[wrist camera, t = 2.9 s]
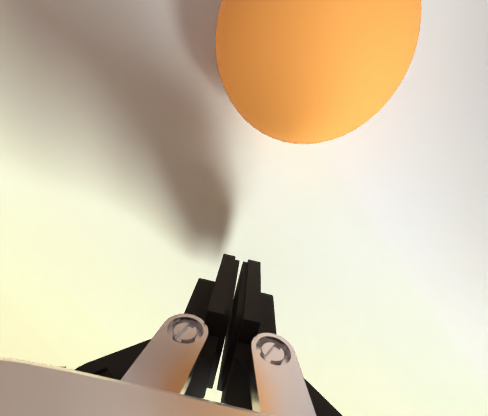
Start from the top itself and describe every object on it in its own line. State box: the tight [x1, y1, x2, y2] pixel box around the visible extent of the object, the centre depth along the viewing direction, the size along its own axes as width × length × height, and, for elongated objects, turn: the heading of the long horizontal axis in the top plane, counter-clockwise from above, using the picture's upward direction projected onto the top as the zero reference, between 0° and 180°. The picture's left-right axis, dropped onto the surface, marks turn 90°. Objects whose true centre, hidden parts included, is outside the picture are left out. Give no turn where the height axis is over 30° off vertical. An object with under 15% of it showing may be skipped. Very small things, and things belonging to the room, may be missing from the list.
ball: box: [216, 0, 421, 144], centre depth 9 cm, size 6×6×6 cm
